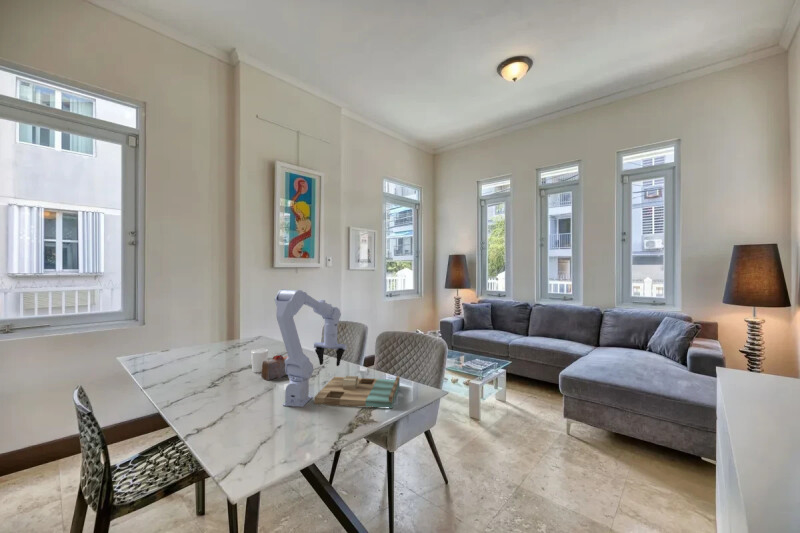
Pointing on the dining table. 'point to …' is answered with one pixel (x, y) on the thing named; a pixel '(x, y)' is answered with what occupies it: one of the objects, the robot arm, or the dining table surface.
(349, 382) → the block
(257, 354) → the white cup
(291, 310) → the robot arm
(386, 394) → the track
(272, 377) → the food item
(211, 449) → the dining table surface
